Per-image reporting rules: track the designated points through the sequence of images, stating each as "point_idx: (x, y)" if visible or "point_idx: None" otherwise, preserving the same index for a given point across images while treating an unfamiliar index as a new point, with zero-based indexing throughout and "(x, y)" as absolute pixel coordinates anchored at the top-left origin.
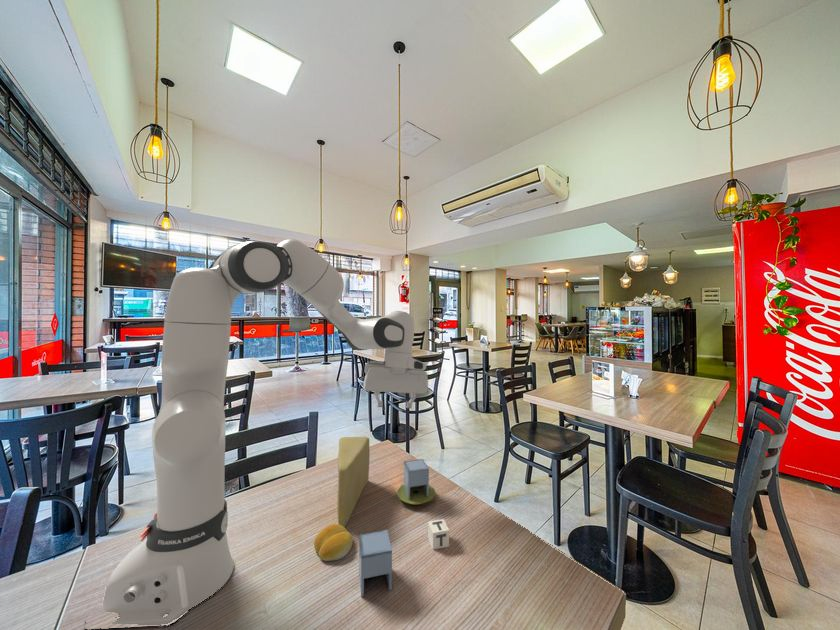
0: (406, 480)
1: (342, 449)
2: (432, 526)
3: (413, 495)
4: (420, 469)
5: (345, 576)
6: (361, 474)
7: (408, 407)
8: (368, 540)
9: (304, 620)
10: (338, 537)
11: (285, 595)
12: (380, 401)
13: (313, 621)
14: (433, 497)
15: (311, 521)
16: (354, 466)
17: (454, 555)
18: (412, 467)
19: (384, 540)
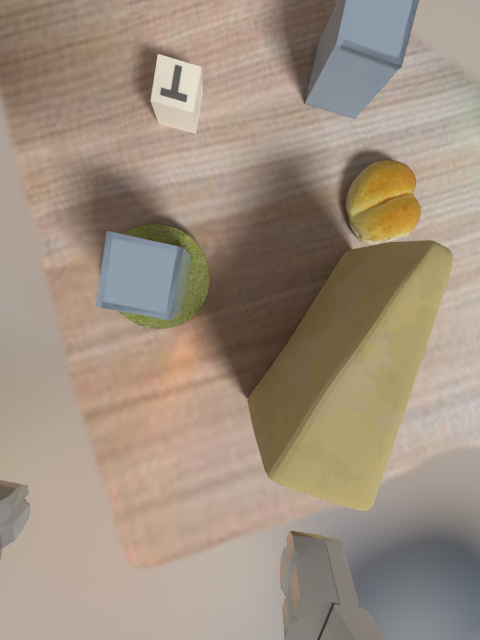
0: (183, 278)
1: (397, 403)
2: (191, 89)
3: None
4: (137, 240)
5: (378, 121)
6: (304, 344)
7: (8, 484)
8: (390, 30)
9: (454, 69)
10: (392, 176)
11: (469, 134)
12: (328, 597)
13: (444, 59)
14: (124, 234)
15: None
16: (371, 299)
17: (167, 53)
18: (159, 266)
19: (357, 8)
